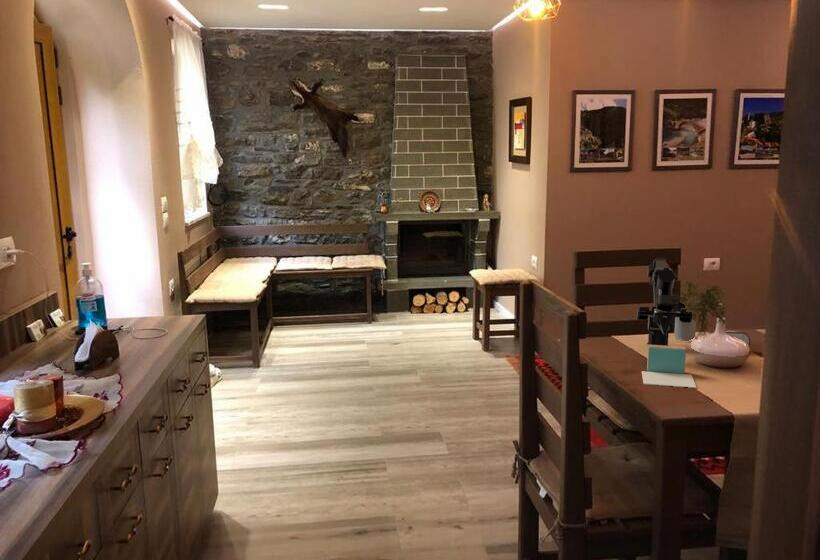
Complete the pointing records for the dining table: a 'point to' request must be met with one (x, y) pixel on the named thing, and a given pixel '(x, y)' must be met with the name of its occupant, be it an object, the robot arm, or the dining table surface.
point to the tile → (666, 359)
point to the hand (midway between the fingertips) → (664, 334)
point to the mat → (668, 379)
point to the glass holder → (683, 327)
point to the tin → (739, 335)
